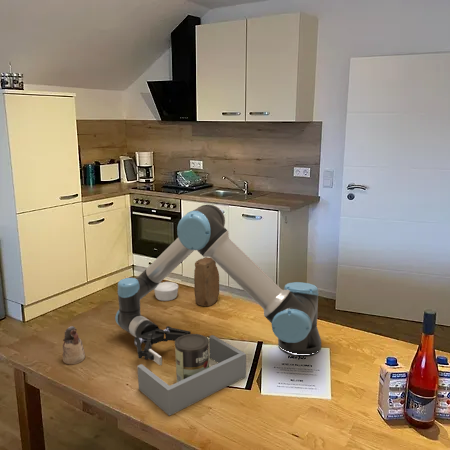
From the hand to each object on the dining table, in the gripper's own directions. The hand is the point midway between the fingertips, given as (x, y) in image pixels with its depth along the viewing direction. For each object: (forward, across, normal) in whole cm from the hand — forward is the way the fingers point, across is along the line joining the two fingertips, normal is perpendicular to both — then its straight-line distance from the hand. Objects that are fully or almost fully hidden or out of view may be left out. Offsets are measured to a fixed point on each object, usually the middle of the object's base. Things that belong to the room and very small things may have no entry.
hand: (179, 353), depth 146 cm
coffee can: (+7, 0, -8) cm, 10 cm away
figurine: (-32, +22, -8) cm, 39 cm away
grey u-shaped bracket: (+7, 0, -7) cm, 10 cm away
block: (-38, -41, -8) cm, 57 cm away
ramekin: (-56, -31, -8) cm, 64 cm away
